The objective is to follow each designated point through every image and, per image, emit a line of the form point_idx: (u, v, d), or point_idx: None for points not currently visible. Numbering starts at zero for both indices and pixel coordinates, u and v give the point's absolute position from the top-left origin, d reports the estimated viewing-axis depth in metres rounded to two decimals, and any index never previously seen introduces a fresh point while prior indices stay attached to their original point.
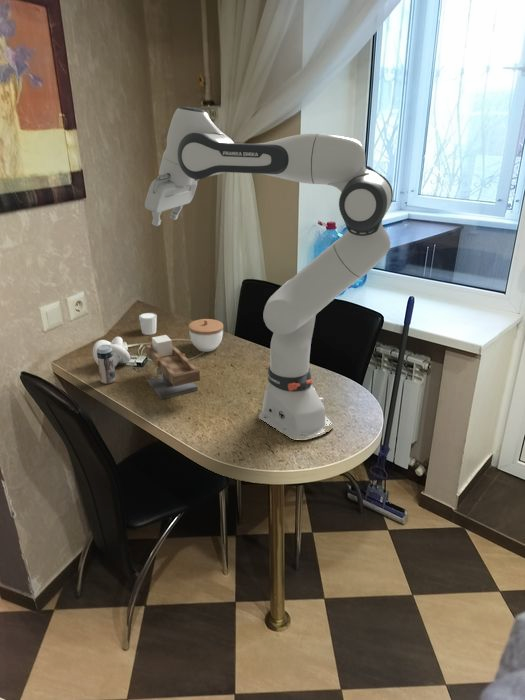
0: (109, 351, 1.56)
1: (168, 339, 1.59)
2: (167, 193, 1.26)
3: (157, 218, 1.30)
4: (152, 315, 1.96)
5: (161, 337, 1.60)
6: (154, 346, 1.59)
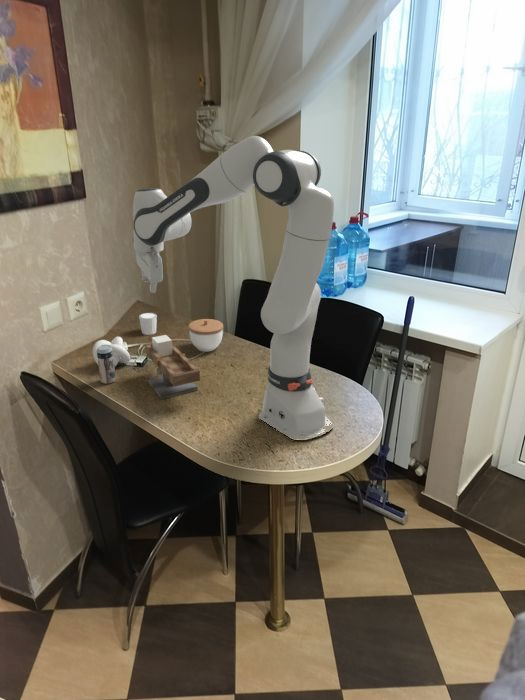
0: (109, 351, 1.56)
1: (168, 339, 1.59)
2: None
3: (155, 286, 1.51)
4: (152, 315, 1.96)
5: (161, 337, 1.60)
6: (154, 346, 1.59)
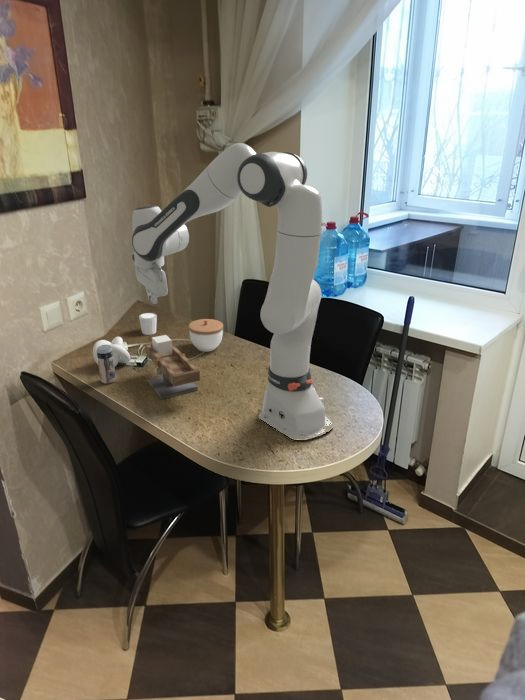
0: (109, 351, 1.56)
1: (168, 339, 1.59)
2: None
3: (156, 296, 1.57)
4: (152, 315, 1.96)
5: (161, 337, 1.60)
6: (154, 346, 1.59)
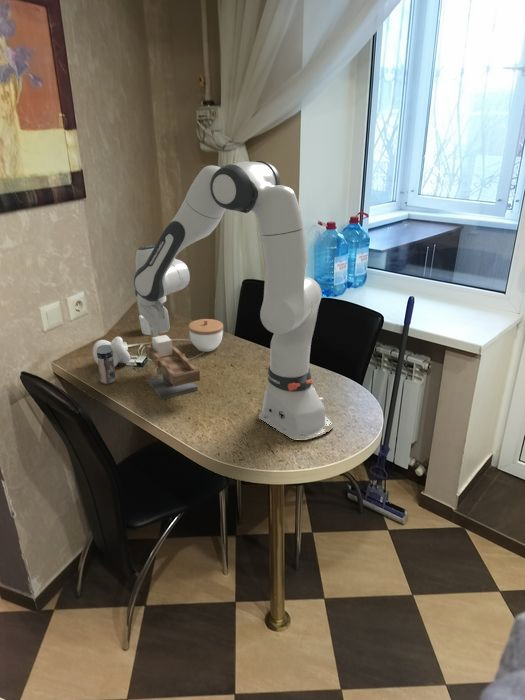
0: (109, 351, 1.56)
1: (168, 339, 1.59)
2: None
3: None
4: None
5: (161, 337, 1.60)
6: (154, 346, 1.59)
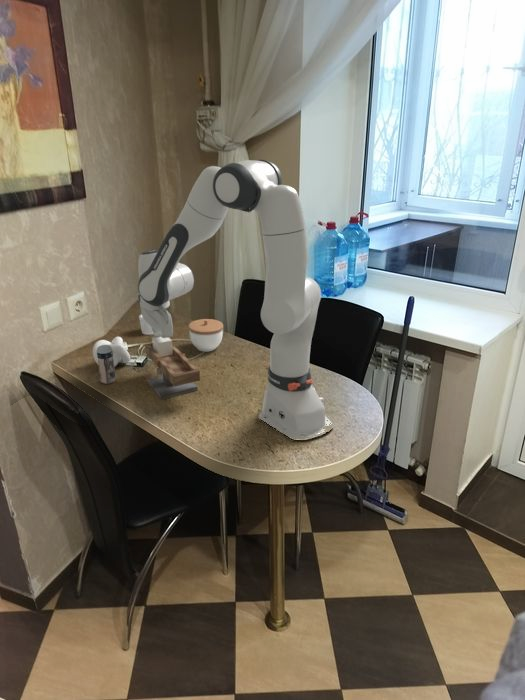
0: (109, 351, 1.56)
1: (168, 339, 1.59)
2: None
3: None
4: None
5: (161, 337, 1.60)
6: (154, 346, 1.59)
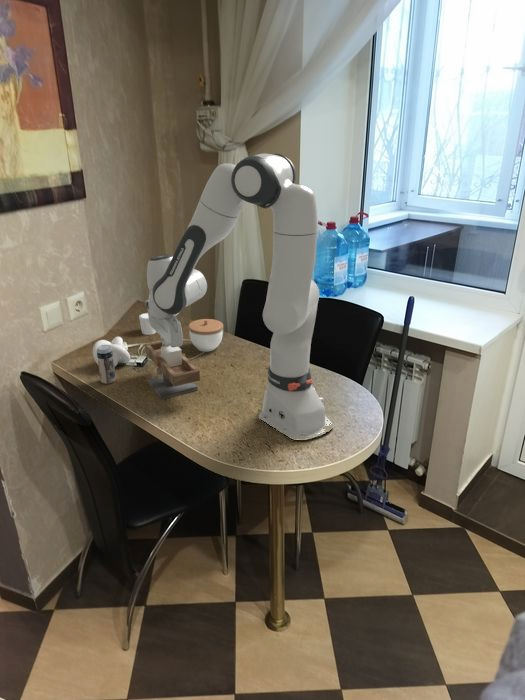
0: (109, 351, 1.56)
1: (178, 348, 1.53)
2: None
3: None
4: None
5: (170, 346, 1.54)
6: (163, 356, 1.53)
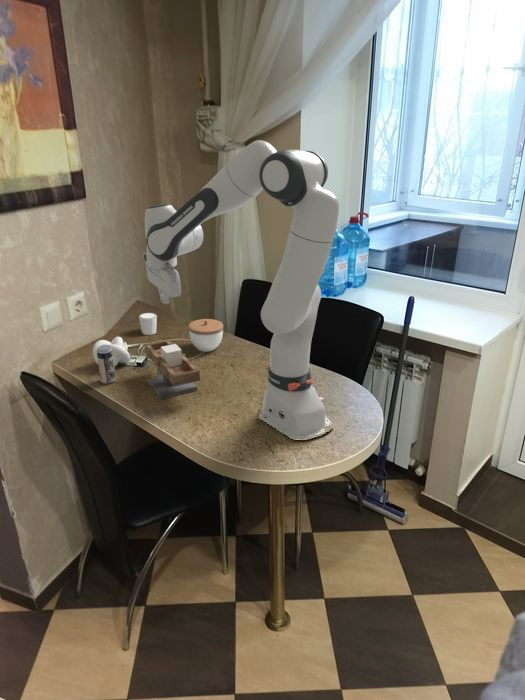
0: (109, 351, 1.56)
1: (178, 348, 1.53)
2: None
3: (168, 297, 1.55)
4: (152, 315, 1.96)
5: (170, 346, 1.54)
6: (163, 356, 1.53)
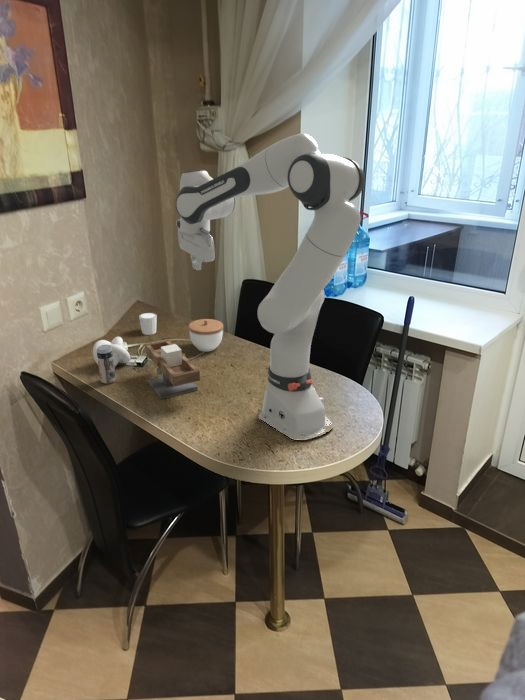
0: (109, 351, 1.56)
1: (178, 348, 1.53)
2: None
3: (200, 263, 1.57)
4: (152, 315, 1.96)
5: (170, 346, 1.54)
6: (163, 356, 1.53)
